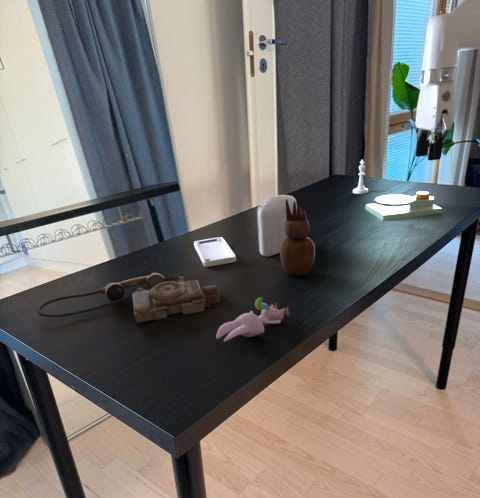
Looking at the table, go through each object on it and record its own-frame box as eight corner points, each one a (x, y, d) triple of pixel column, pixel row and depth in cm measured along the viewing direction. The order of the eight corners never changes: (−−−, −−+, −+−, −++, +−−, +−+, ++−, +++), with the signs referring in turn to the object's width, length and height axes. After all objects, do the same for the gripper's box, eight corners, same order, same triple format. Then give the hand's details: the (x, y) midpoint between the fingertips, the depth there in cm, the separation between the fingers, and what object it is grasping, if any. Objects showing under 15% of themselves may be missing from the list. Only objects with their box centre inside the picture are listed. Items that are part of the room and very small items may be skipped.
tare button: (424, 197, 115) (425, 190, 114) (430, 200, 112) (431, 193, 111) (413, 198, 115) (414, 192, 114) (419, 201, 112) (420, 194, 111)
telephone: (43, 304, 82) (36, 285, 80) (208, 275, 88) (205, 256, 85) (31, 347, 69) (22, 326, 67) (224, 309, 75) (221, 289, 73)
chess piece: (359, 194, 133) (360, 161, 128) (349, 192, 137) (350, 160, 132) (371, 191, 135) (373, 159, 130) (361, 189, 139) (363, 157, 134)
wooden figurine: (276, 275, 85) (272, 202, 77) (288, 265, 89) (286, 194, 81) (307, 280, 81) (306, 204, 74) (318, 269, 85) (319, 195, 78)
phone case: (236, 261, 93) (222, 241, 106) (236, 256, 92) (221, 236, 105) (204, 267, 92) (194, 246, 104) (203, 262, 91) (193, 241, 104)
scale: (420, 202, 120) (421, 191, 119) (443, 213, 110) (445, 201, 108) (365, 209, 119) (365, 198, 117) (382, 221, 109) (383, 209, 107)
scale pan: (403, 195, 117) (403, 192, 117) (420, 203, 109) (421, 201, 108) (368, 199, 117) (369, 197, 116) (384, 208, 108) (384, 206, 108)
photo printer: (286, 241, 101) (285, 190, 95) (300, 245, 98) (299, 192, 92) (256, 254, 96) (252, 200, 90) (269, 258, 93) (266, 203, 87)
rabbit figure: (267, 316, 73) (205, 343, 63) (268, 284, 71) (205, 306, 61) (296, 326, 69) (235, 357, 59) (299, 293, 67) (236, 318, 57)
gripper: (475, 75, 92) (460, 161, 101) (433, 76, 107) (424, 151, 116) (442, 78, 91) (430, 165, 100) (405, 79, 106) (398, 154, 115)
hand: (427, 157), depth 108 cm, fingers open, 5 cm apart
